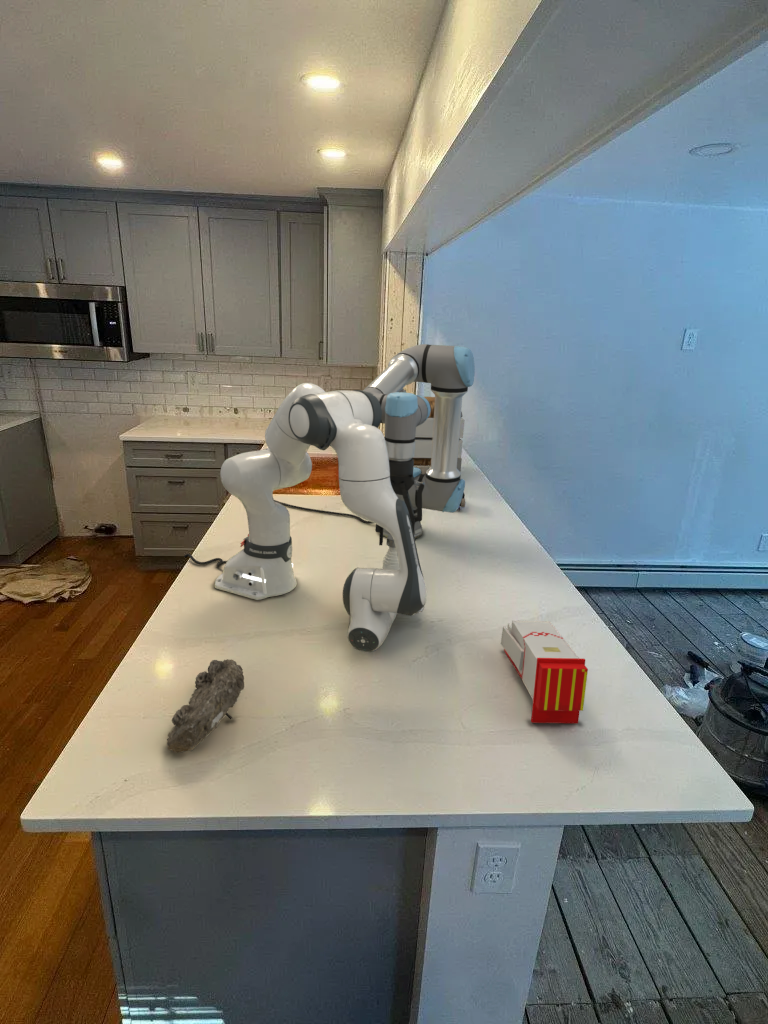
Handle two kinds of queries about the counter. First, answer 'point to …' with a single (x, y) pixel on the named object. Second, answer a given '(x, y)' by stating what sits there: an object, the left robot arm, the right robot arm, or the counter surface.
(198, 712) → the fossil
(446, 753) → the counter surface
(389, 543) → the cap
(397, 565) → the bottle
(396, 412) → the right robot arm
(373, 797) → the counter surface
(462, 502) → the figurine character
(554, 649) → the toy
